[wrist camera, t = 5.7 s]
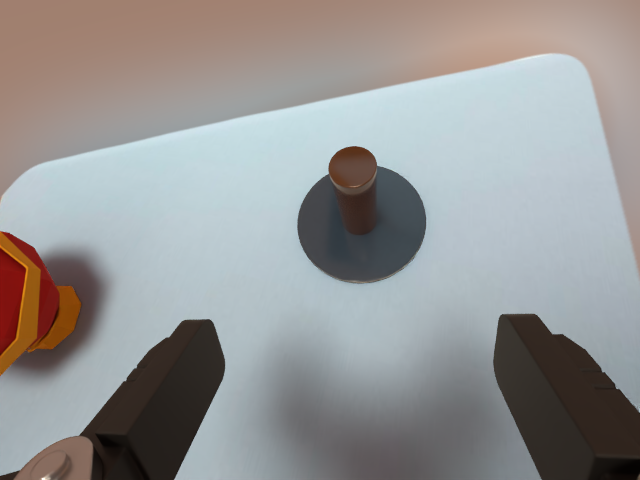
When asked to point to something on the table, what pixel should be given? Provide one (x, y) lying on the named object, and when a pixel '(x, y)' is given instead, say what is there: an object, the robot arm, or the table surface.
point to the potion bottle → (30, 303)
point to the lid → (361, 219)
